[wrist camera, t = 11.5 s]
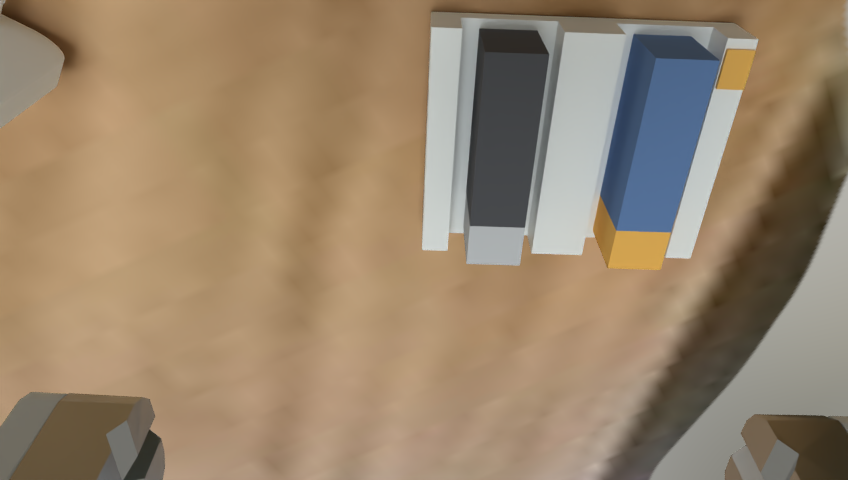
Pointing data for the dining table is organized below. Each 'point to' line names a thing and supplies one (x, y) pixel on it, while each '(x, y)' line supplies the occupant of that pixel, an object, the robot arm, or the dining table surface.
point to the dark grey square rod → (503, 143)
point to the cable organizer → (25, 67)
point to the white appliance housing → (569, 122)
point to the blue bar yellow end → (652, 147)
